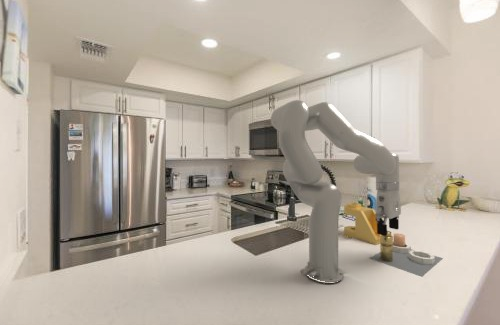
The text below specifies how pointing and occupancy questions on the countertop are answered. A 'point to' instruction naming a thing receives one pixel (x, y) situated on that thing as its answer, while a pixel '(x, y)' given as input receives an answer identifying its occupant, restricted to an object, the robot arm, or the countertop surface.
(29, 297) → the countertop surface
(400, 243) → the joined fitting
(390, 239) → the gold rounded cylinder
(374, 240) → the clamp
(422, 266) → the mat
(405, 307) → the countertop surface
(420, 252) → the white octagonal ring
